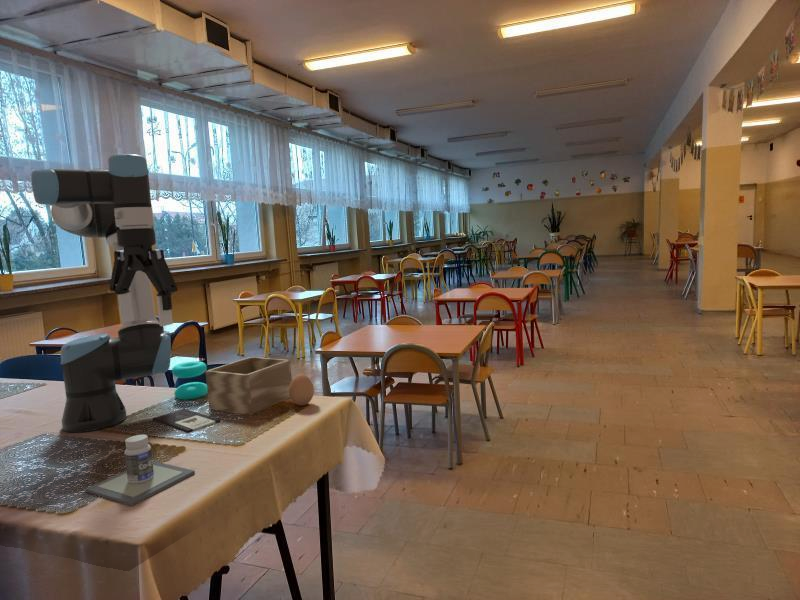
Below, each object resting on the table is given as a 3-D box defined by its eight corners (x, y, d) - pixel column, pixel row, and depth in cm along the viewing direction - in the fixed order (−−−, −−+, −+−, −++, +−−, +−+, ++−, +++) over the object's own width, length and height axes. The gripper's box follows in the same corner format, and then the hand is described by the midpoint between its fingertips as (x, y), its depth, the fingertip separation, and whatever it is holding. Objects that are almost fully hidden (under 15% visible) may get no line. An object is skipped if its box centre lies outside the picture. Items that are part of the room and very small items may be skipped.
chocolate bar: (184, 408, 150) (219, 419, 139) (184, 411, 150) (220, 423, 139) (152, 418, 143) (187, 430, 132) (153, 421, 144) (187, 434, 132)
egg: (303, 410, 144) (300, 378, 143) (285, 407, 148) (282, 375, 147) (319, 403, 150) (317, 372, 149) (301, 400, 153) (299, 370, 152)
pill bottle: (143, 484, 103) (138, 443, 102) (122, 483, 104) (117, 442, 103) (159, 473, 107) (154, 433, 106) (139, 473, 108) (134, 433, 107)
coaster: (85, 491, 103) (85, 488, 103) (149, 462, 115) (149, 459, 115) (131, 505, 96) (131, 502, 96) (194, 473, 108) (194, 470, 108)
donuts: (164, 368, 160) (184, 360, 169) (167, 400, 161) (187, 390, 171) (193, 368, 157) (212, 360, 167) (197, 401, 159) (215, 391, 168)
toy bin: (209, 409, 150) (205, 371, 149) (254, 391, 165) (250, 356, 164) (250, 415, 142) (246, 375, 141) (293, 396, 158) (290, 359, 156)
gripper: (84, 230, 119) (96, 323, 122) (157, 226, 107) (168, 329, 110) (116, 229, 126) (127, 317, 129) (188, 225, 113) (198, 323, 116)
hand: (146, 323), depth 119 cm, fingers open, 13 cm apart
